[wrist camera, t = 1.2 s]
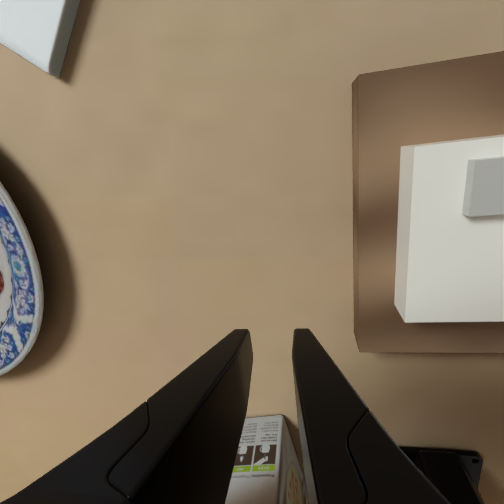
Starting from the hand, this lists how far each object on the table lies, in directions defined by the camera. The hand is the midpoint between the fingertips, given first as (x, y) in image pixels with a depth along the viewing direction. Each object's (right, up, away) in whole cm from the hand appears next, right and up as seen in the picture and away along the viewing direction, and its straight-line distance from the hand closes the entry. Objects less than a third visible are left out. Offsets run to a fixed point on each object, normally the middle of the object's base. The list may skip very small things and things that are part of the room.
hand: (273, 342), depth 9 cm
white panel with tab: (+10, +4, +7) cm, 13 cm away
